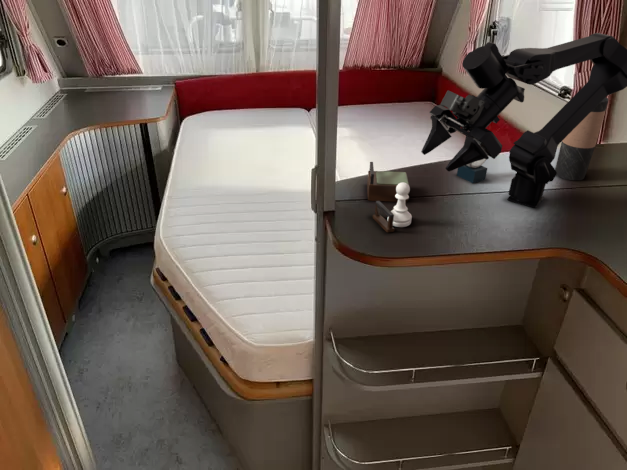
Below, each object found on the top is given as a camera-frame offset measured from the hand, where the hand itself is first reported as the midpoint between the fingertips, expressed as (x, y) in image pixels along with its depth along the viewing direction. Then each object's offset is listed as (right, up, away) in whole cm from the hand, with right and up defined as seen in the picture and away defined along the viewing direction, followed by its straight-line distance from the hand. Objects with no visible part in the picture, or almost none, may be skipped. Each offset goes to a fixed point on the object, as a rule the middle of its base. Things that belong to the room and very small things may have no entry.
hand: (434, 161), depth 108 cm
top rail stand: (-8, -5, +16) cm, 19 cm away
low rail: (-10, -13, +3) cm, 17 cm away
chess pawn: (-6, -12, +5) cm, 15 cm away
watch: (+15, -1, +25) cm, 29 cm away
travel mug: (+41, 0, +28) cm, 50 cm away
